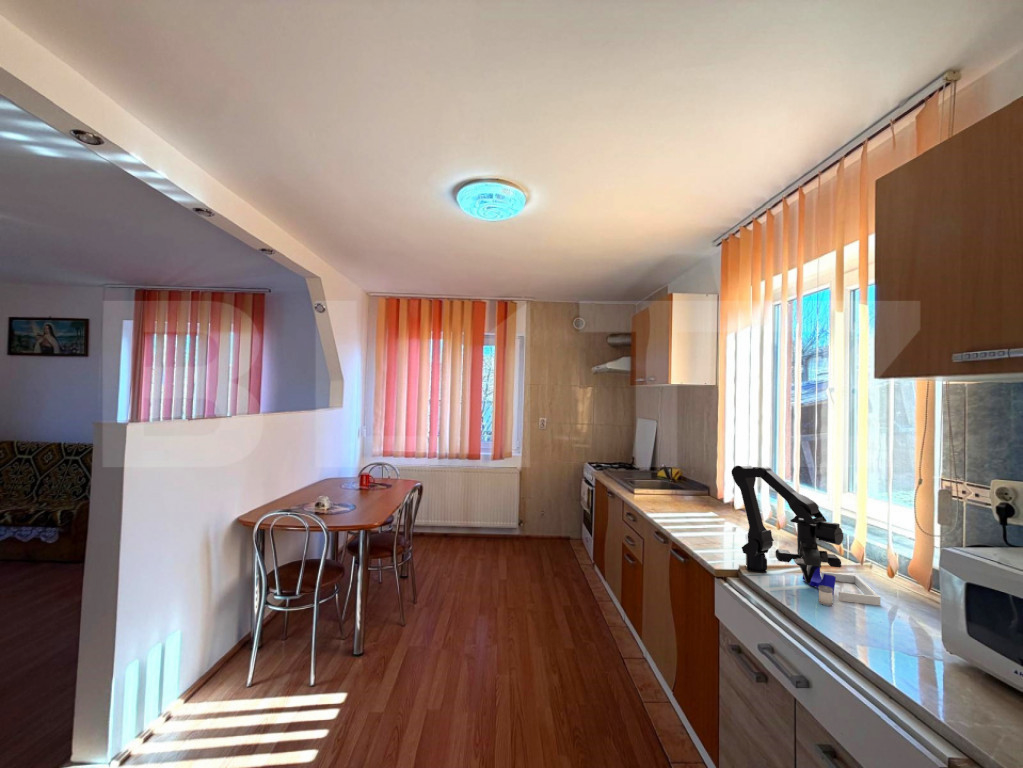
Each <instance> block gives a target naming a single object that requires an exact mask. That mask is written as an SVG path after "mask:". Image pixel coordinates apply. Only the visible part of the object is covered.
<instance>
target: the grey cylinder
mask: <svg viewBox="0 0 1023 768" xmlns="http://www.w3.org/2000/svg"><path fill="white" fill-rule="evenodd" d="M817 589H818V604H819V605H821V604H823V605H822V606H824V605H828V606H827V607H833V606H834V601H833V600H834V599H833V596H834V595H832V592H833V589H832V588H831V587H828V586H823V585H820V586H818V588H817ZM832 605H833V606H832Z"/></svg>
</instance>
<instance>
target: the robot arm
mask: <svg viewBox="0 0 1023 768" xmlns="http://www.w3.org/2000/svg"><path fill="white" fill-rule="evenodd" d="M731 476H732V478H733V481H734V483H735V484H736V486H737V487H738V489H740V495H741V498H742V502H743V507H744V510H745V514H746V518H747V522H748V526H749V527H748V531H747V542H746V544H744V545H743V546H741V549H742V553H743V554H745V564H746V565H747V568H746V567H745V569H746V571H747V572H755V573H764V574H765V573H766V574H767V570H768V559H767V556H766V554H768V553H769V550H770V549H771V548H772V547H773V542H774V538H773V536H772V535H773V534H772V531H771V529H767V528H766V527H765V526H764V522H763V519H762V515H761V511H760V507H759V503H758V499H757V494H756V490H755V484H756V479H757V478H761V479H762V480H763V481H764V482H765V483H766V484H767V485H768V486H769V487H771V488H772V489H773V490H774V491H775V492H776V493H777V494H778V495H779V496H780V497H782V498H783V499H784V500H785V501H786V502H787V505H788V506H789V507H788V508H789V509H790V510H791V511H792V512H793V513H794V515H795V516H794V517H793V518H792V519H791V518H790V522H791V523H795V524H796V527H797V529H796V530H797V531H796V536H797V537H796V541H797V549H796V552H797V553H792V552H790V551H789V550H788V549H781V548H777V549H776V550H775V552H774V553H775V554H774V555H775V558H776V559H777V561H779V562H783V563H790V562H791V561H792V560H793V562H794V563H795V565H796V566H799V568H800V570H801V572H802V576H803V575H804V578H805V581H804V582H806V584H808V585H809V583H810V581H811V578H812V576H813V574H814V572H815V570H816V569H817V568H820V569H821V568H822V563H827V565H829V566H830V568H831V567H833V568H842V560H841V559H840V558H839V557H838V556H837V555H836V554H834V553H833V554H831V553H828V552H827V550H819V547H818V546H819V545H818V541H820V542H824V543H827V544H828V543H829V544H833V545H836V546H840V545H842V543H843V541H844V532H843V530H842V528H841V526H840V525H841V524H840V523H839V522H838V523H836V522H829V521H827V519H826V518H825V516H824V515H823V514H822V512H821V511H820V510H819V505H818V504H817V502H815V501H814V500H812V499H810V498H809V497H807V496H805V495H803V494H800V493H799V492H797V491H796V490H795V489H794V488H793V487H792V486H790V485H789V484H788V483H787V482H786V481H785V480H784V479H782V478H781V477H780V476H779V475H778V474H777V473H776V472H774V471H773V470H772V467H770V466H752V465H749V464H741V465H735V466H733V468H732V469H731ZM817 540H818V541H817Z"/></svg>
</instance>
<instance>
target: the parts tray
mask: <svg viewBox="0 0 1023 768" xmlns="http://www.w3.org/2000/svg"><path fill="white" fill-rule="evenodd" d="M824 574H827V575H832V576H835V577H836V580H835V582H841V583H849V584H850V583H851V584H855V585H856V586H857V587H858V588H859V589H860V590H861V591H862V592H863V593H864V594H863V593H854V592H848V591H847V592H846V591H838V601H841V602H849V603H856V604H857V603H858V604H865V605H866V604H867V605H872V606H881V596H880V595H879V594H878V593H877V592H875V591H874V590H873V589H872V588H871V587H870V586H869V585H868V584H867V583H866V582H865V581H864V580H863V579H862V578H861V577H860V576H859V575H857V574H848V573H839V572H831V571H830V572H829V571H828V572H827V571H822V570H820V575H821V578H822V579H823V576H824Z"/></svg>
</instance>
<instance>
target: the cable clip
mask: <svg viewBox="0 0 1023 768" xmlns="http://www.w3.org/2000/svg"><path fill="white" fill-rule="evenodd" d="M801 579H802V580H803V581H804V582H806V581H805V578H804V575H803V574H802V578H801ZM835 580H836V577H835V576H832V575H827V574H824V576H823V579H822V578H821V568H817V569H816V570H815V572H814V574H813V576H812V578H811V581H810V583H809V584H808V586H812V587H815V588H816V589H818V586H820V585H823V586H828V587H831V588H832V589H833V592H832V596H834V593H835V586H836V581H835Z"/></svg>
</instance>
